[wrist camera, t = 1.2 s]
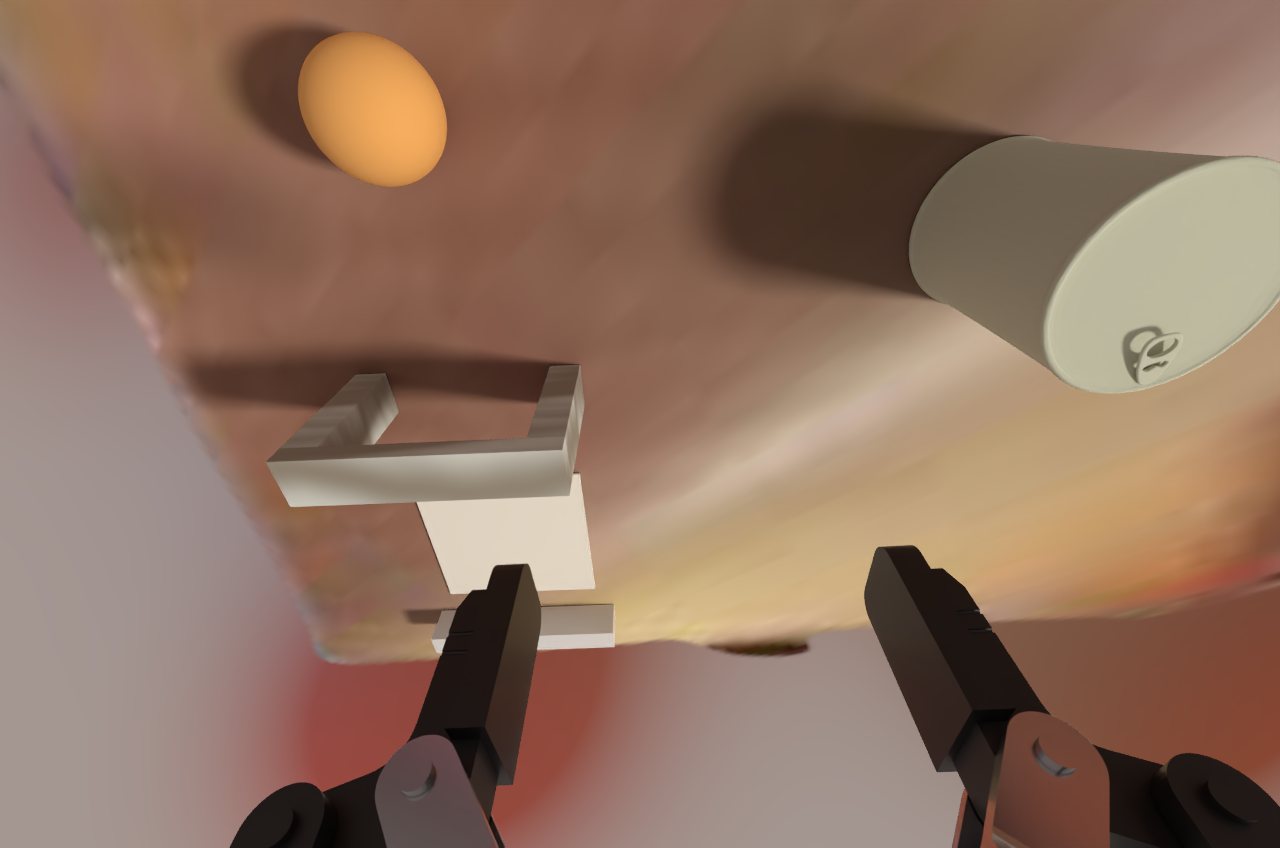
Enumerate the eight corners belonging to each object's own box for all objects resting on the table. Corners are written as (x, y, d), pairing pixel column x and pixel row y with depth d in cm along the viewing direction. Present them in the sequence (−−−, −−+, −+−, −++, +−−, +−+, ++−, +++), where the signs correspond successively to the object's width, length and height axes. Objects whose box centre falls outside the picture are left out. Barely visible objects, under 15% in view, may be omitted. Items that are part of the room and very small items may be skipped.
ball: (321, 42, 24) (237, 26, 19) (445, 36, 24) (395, 18, 19) (363, 181, 27) (302, 198, 22) (474, 175, 27) (437, 192, 22)
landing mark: (409, 479, 38) (408, 481, 38) (579, 472, 38) (579, 474, 38) (451, 592, 45) (450, 593, 45) (595, 586, 45) (595, 588, 45)
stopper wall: (442, 610, 47) (431, 639, 44) (613, 604, 46) (612, 633, 44) (447, 624, 48) (437, 653, 45) (615, 618, 48) (614, 646, 45)
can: (910, 324, 32) (1037, 426, 22) (904, 170, 27) (1064, 210, 17) (1067, 278, 31) (1282, 365, 20) (1089, 108, 26) (1384, 111, 16)
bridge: (355, 374, 33) (265, 462, 25) (579, 364, 33) (562, 450, 25) (370, 412, 35) (290, 506, 27) (584, 403, 35) (569, 496, 27)
